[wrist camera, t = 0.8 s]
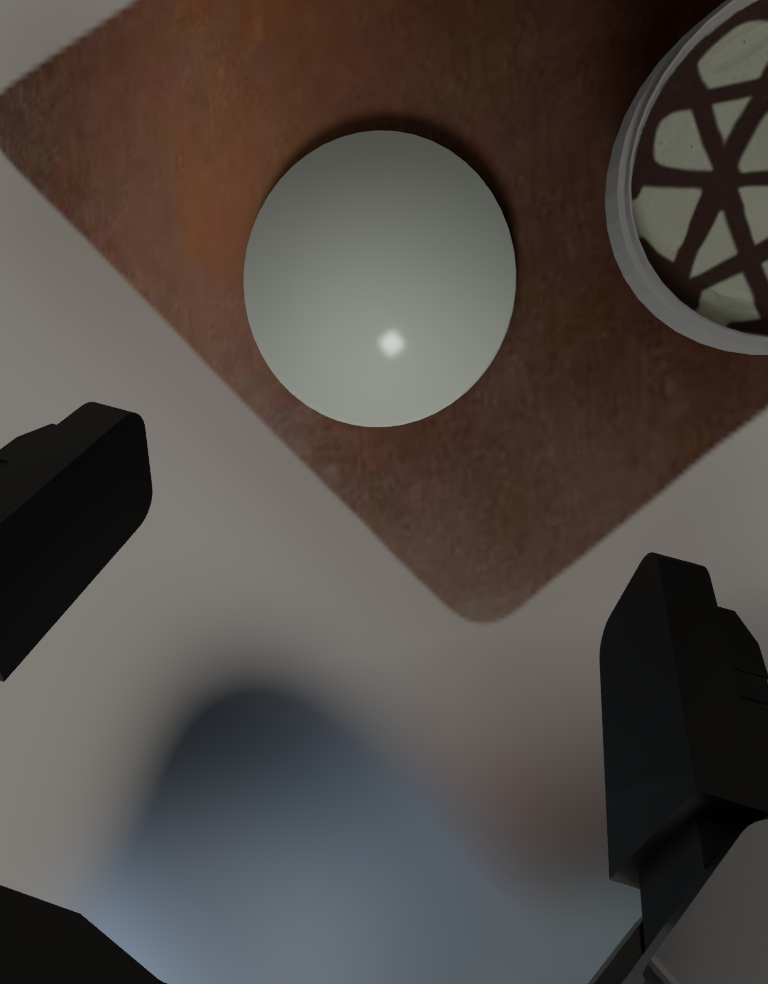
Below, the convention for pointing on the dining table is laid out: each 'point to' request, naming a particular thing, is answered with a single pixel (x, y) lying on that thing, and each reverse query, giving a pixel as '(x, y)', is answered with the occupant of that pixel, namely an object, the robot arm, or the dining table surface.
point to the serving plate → (380, 278)
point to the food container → (699, 183)
